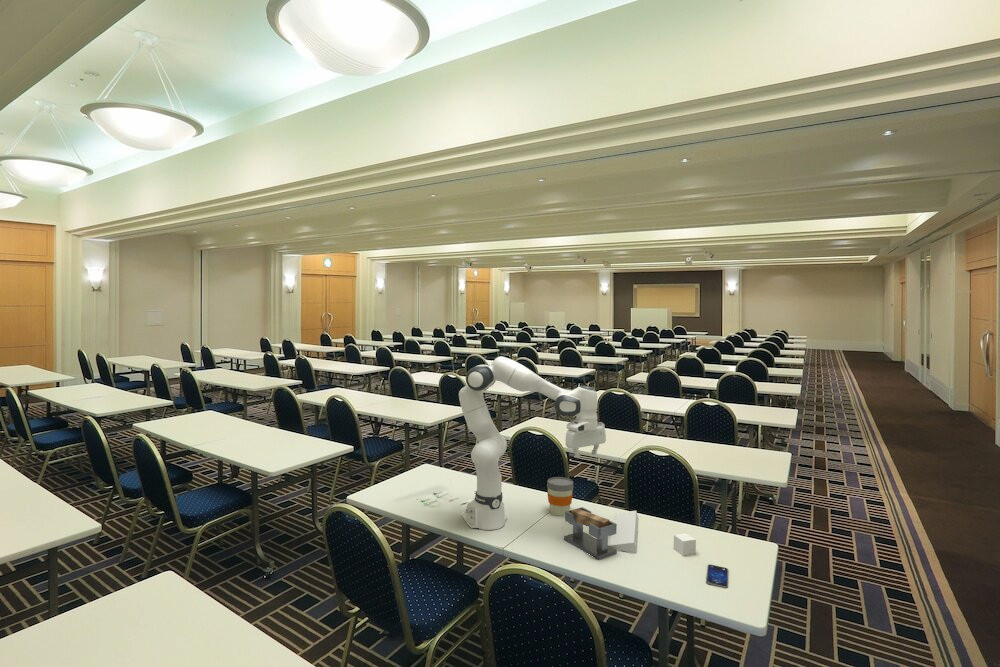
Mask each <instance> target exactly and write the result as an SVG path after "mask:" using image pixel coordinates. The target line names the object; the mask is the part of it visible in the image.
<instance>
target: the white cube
mask: <svg viewBox="0 0 1000 667" xmlns="http://www.w3.org/2000/svg"><path fill="white" fill-rule="evenodd" d="M696 543H697V539H696V538H695V537H693V536H691V535H690V534H689V533H687V532H686V533H677V534H674V535H673V550H674V551H675V552H677V553H678V554H679V555H681V556H682V557H685V556H690V555H692V556H693V555H696V550H697V547H696V546H697V544H696Z"/></svg>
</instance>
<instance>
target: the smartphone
mask: <svg viewBox="0 0 1000 667" xmlns="http://www.w3.org/2000/svg"><path fill="white" fill-rule="evenodd" d="M705 584H706V585H708V586H712V587H716V588H721V589H729V569H728V568H727V567H724V566H719V565H714V564H707V569H706V577H705Z"/></svg>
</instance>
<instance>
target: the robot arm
mask: <svg viewBox="0 0 1000 667" xmlns="http://www.w3.org/2000/svg"><path fill="white" fill-rule="evenodd" d="M496 381H497V382H499V383H500V382H501V383H502V384H504V385H506V386H508V387H509V388H511V389H513V390H517V391H519V392H536V393H540V394H542V395H544V396H545V397H548V398H549V399H551V400H553V401H554V404H553V405H554V409H555V411H556V413H557V414H559V415H560V416H563V417H564V416H565V417H570V416H576V418H575V419H574V420H572V421H570V422H569V423H567V424H566V429H567V430H566V433H565V446H566V448H568V449H571V450H572V451H573V452H574V458H576V459H580V458H581V453H579V451H580V450H579V449H580V448H585V447H591V446H593V449H591V455H593V456H595V455H597V454H598V452H597V451H598V449H599V448H600V445H602V444H605V443H606V441H607V437H606V436H607V435H606V429H605V427H606V426H605V423H604V422H602V421H599V422H598V414H597V410H598V393H597V391H596V389H595V388H593V387H592V386H588V385H579V386H577V387H576V388H574V389H572V388H563V387H561V386H558V385H556V384H555V383H553V382H551V381H548V380H547V379H545V378H542V377H541V376H539V375H538V374H536V373H535V372H534V371H532V370H531V369H530V368H528V367H526V366H525V365H523V364H521V363H519V362H518V361H516V360H513V359H511V358H508V357H505V356H502V355H501V356H497V357H496V358H494V360H493V361H492V362H491V364H479V365H476V366H474V367H472V368H470V369H468V371H467V373H466V375H465V382H466V385H465V386H463V387H462V388H461V389H460V390H459V392H458V400H459V404H460V407H461V411H462V414H463V416H464V419H465V422H466V425H467V428H468V430H469V431H470V432H471V433H473V435H474V437H475V438H476V440H477V441H478V443H476V444H475V445H474V446H473V449H472V451H471V452H470V457H471V461H472V463H473V464H474V467H475V472H476V491H473V492H474V494H475V495H474V500H472V501H471V502H469V503H467V504H466V509H465V512H462V513H461V518H462V517H463V518H464V519H463V518H462V519H463V521H464V522H465V521H466V522H467V523H468V524H467V523H466V522H465V523H466V524H467V526H468V525H469V526H470V527H471V528H470V527H469V526H468V527H469V528H470V529H473V528H479V529H478V530H484V531H490V530H491V531H493V530H498V529H501V528H503V527H504V526H505V525H506V524H505V523H506V521H507V520H508V518H507V516H505V515H506V514H505V503H504V502H503V492H502V477H503V476H502V473H501V472H500V468H499V459H500V458H501V457H503V456H504V454H505V452H506V450H507V447H508V442H507V440H506V438H505V437H504V436H503V435H502V434H501V433H500V431H499V429H497V427H496V426H495V424H494V421H493V419H492V417H491V413H490V411H489V408H488V406H487V404H486V401H485V397H484V392H486V391H487V390H488V389H489V388H491V387H492V386H493V385H494V384H495V383H496Z"/></svg>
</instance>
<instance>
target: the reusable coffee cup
mask: <svg viewBox="0 0 1000 667" xmlns="http://www.w3.org/2000/svg"><path fill="white" fill-rule="evenodd" d="M546 483H547V484H546V488H547V501H548V504H549V512H550V514H551V513H552V515H553V514H554V515H553V516H557V515H558V517H565V516H564V515H565V511H569V510H571V509H570V508H571V504H572V501H573V496H574V493H573V489H574V481H573V479H571V478H566V477H563V476H557V477H556V476H555V477H550V478H548V479H547V482H546Z"/></svg>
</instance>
